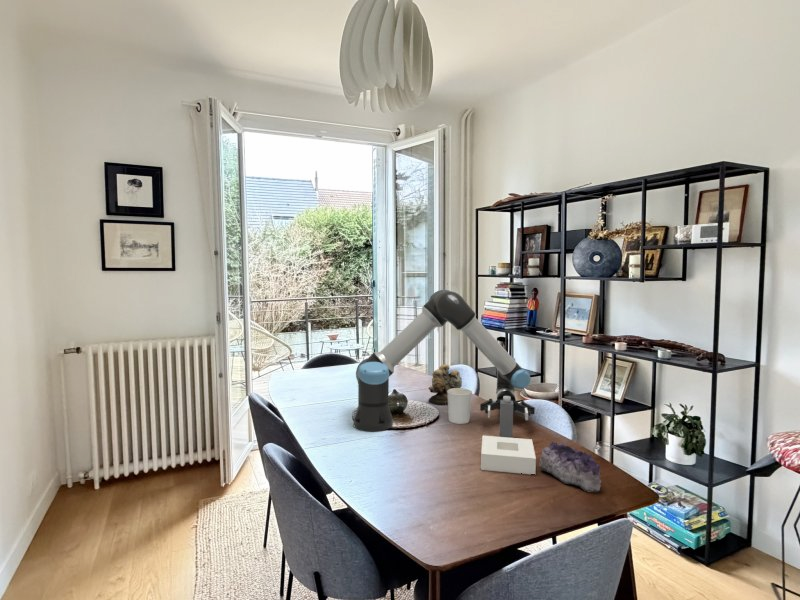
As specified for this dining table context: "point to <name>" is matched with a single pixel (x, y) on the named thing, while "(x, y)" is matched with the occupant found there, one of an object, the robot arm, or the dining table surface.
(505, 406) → the plug
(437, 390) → the olive rock sculpture
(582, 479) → the geode
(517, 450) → the socket block
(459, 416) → the candle holder
